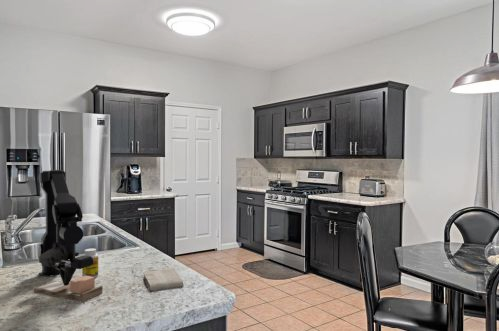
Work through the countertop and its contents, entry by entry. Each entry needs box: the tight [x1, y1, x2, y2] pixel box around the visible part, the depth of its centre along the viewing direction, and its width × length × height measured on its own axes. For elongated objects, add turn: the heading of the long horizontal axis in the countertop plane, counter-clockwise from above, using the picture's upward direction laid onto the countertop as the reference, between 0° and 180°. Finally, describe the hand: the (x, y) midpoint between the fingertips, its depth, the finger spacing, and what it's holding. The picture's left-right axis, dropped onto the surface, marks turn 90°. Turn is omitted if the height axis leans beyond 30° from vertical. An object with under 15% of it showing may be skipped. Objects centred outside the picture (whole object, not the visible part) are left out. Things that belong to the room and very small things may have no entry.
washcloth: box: [143, 267, 185, 292], centre depth 131 cm, size 12×18×3 cm, turn 25°
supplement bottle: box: [81, 248, 99, 279], centre depth 136 cm, size 6×6×10 cm
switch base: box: [33, 280, 104, 302], centre depth 120 cm, size 22×8×2 cm, turn 67°
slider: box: [70, 276, 96, 294], centre depth 118 cm, size 4×6×4 cm, turn 157°
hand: (66, 285), depth 121 cm, fingers closed
